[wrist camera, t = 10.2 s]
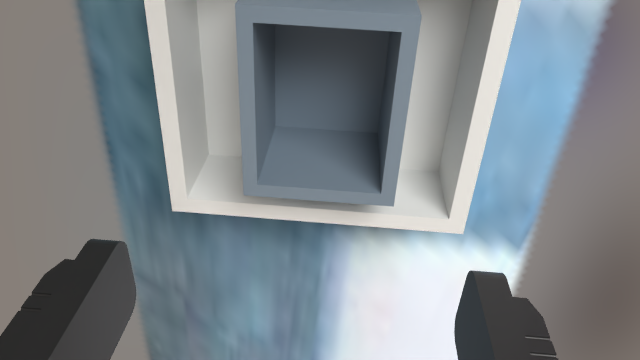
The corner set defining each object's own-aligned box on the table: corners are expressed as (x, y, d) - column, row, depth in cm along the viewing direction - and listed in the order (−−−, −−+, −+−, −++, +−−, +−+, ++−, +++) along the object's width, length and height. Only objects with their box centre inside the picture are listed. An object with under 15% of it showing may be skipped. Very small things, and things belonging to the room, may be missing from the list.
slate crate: (262, -32, 23) (234, 3, 18) (409, -23, 23) (422, 15, 18) (265, 130, 27) (243, 195, 22) (388, 138, 27) (393, 206, 22)
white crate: (175, -102, 22) (132, -89, 18) (504, -83, 22) (537, -65, 18) (199, 158, 30) (172, 210, 25) (448, 177, 29) (463, 234, 25)
